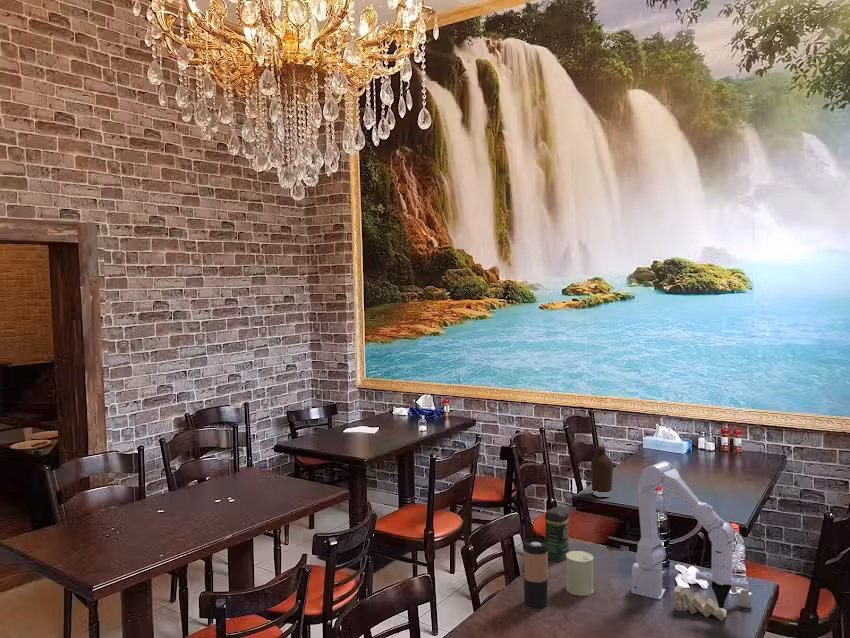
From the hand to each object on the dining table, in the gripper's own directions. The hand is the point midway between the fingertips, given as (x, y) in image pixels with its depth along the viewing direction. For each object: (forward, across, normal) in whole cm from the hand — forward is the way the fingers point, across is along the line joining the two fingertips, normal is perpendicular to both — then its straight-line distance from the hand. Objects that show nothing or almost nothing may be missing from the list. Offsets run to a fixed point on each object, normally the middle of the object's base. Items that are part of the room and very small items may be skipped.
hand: (721, 606), depth 195 cm
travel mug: (+4, -52, -21) cm, 56 cm away
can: (+4, -43, -4) cm, 44 cm away
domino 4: (+3, +1, 0) cm, 3 cm away
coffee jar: (+4, -59, +18) cm, 62 cm away
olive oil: (+4, -66, +102) cm, 122 cm away
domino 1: (+3, -12, 0) cm, 12 cm away
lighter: (+4, +4, +12) cm, 13 cm away
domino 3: (+3, -3, 0) cm, 4 cm away
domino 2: (+3, -7, 0) cm, 8 cm away
